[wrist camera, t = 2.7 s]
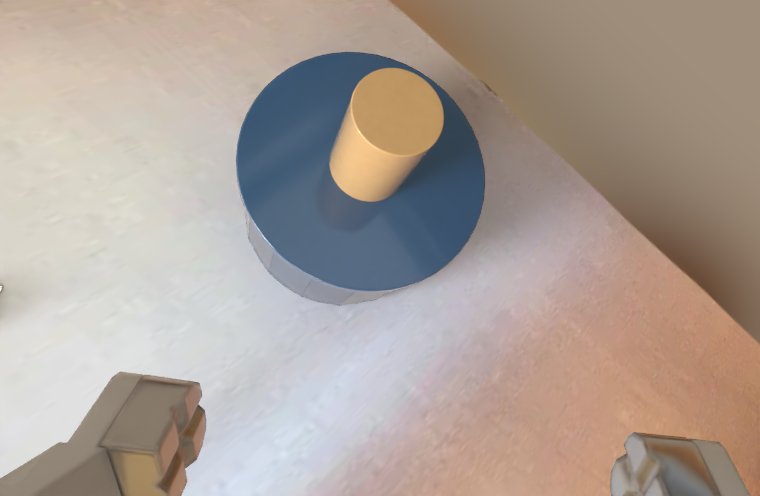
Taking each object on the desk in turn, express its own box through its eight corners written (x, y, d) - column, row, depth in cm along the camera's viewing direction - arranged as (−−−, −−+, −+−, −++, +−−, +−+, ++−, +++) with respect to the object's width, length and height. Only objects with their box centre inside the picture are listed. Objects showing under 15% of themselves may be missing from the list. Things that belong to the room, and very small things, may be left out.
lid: (203, 258, 29) (189, 215, 21) (273, 33, 33) (282, -70, 25) (455, 321, 31) (522, 302, 24) (491, 105, 35) (557, 31, 28)
